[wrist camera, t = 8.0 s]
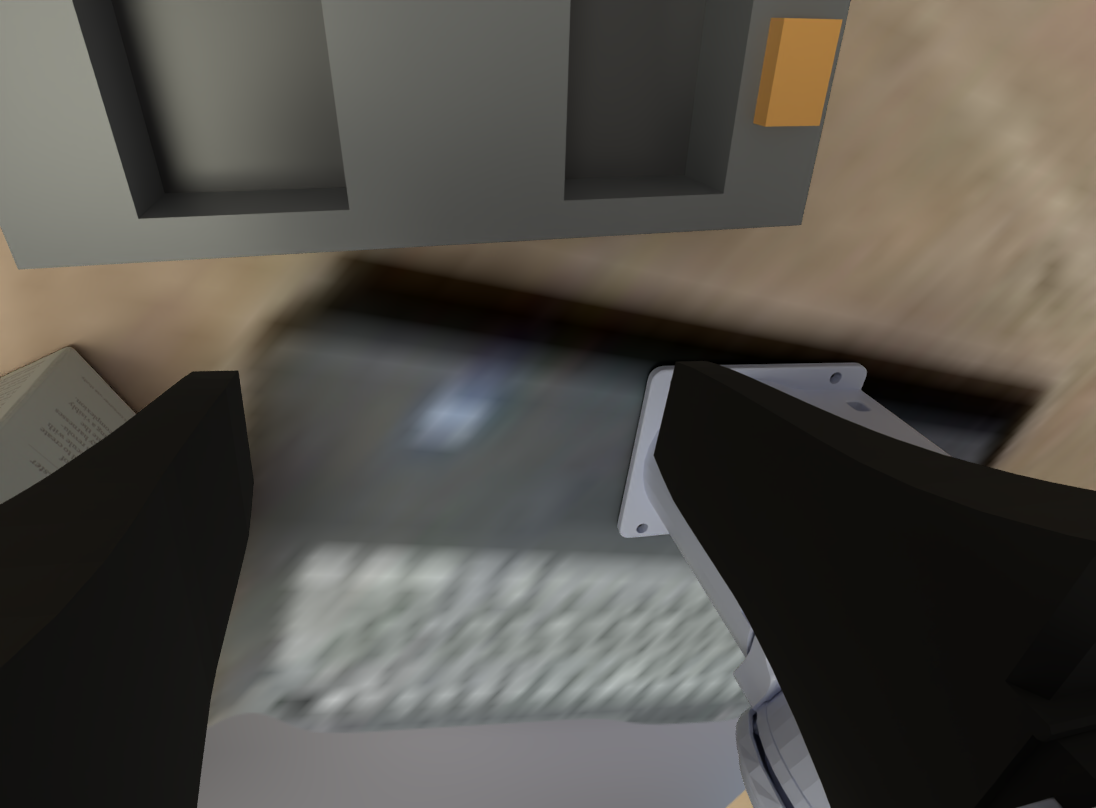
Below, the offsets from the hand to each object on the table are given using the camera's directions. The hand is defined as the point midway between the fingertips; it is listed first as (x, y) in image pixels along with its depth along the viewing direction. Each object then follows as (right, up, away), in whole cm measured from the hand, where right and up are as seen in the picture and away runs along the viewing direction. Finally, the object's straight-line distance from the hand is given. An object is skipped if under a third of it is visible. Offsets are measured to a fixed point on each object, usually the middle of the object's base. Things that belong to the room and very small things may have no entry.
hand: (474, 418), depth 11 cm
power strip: (-2, +10, +7) cm, 12 cm away
